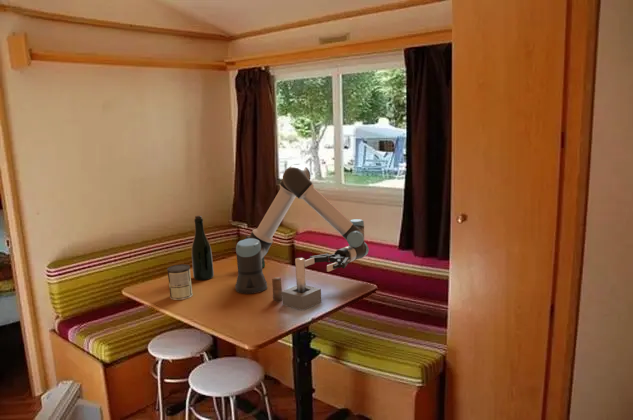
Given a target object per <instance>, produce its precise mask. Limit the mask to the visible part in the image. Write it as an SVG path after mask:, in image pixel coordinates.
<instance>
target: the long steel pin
mask: <svg viewBox="0 0 633 420" xmlns="http://www.w3.org/2000/svg"><path fill="white" fill-rule="evenodd" d="M305 260H306V259H305V258H304V257H296V258H295V261H294V263H295V279H296V281H295V282H296V286H297V292H298V293H304V292H306V285H307V280H306V267H305Z"/></svg>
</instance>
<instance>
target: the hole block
mask: <svg viewBox="0 0 633 420" xmlns="http://www.w3.org/2000/svg"><path fill="white" fill-rule="evenodd" d="M320 303H322V290H321V288H319V287H315V286H310V285H307V284H306V292H304V293H298V292H297V285H295V286H292V287H290V288H287V289H285V290H282V305H283V306H287V307H289V308H294V309H297V310H300V311H305V310H307V309H309V308H311V307H314V306H316V305H318V304H320Z"/></svg>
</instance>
